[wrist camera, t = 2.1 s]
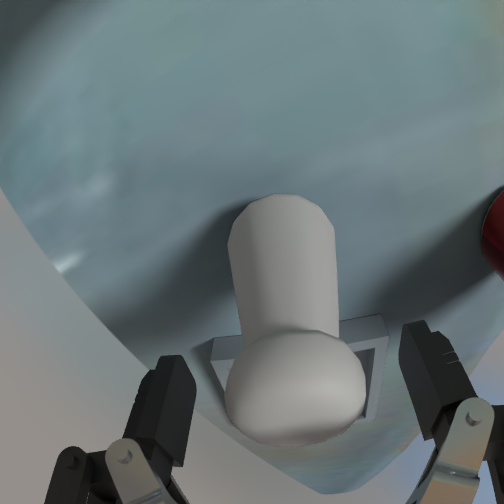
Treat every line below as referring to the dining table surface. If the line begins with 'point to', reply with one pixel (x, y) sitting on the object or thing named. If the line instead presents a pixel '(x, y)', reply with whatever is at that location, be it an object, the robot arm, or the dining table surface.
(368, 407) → the tray
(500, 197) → the soda can
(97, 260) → the dining table surface
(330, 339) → the salt shaker
